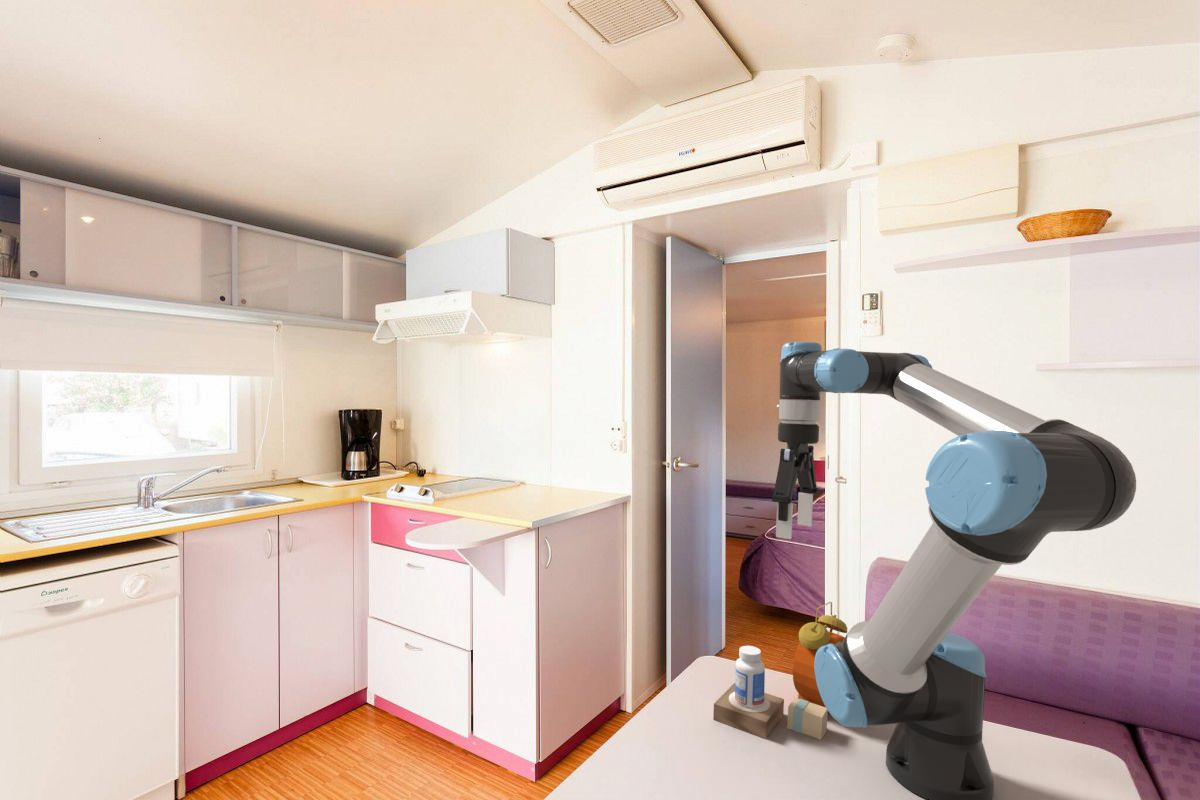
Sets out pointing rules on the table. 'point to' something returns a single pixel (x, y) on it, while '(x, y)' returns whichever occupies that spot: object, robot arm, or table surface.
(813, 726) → the carton
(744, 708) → the podium
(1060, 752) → the table surface
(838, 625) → the alarm clock
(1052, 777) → the table surface
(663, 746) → the table surface
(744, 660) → the pill bottle
